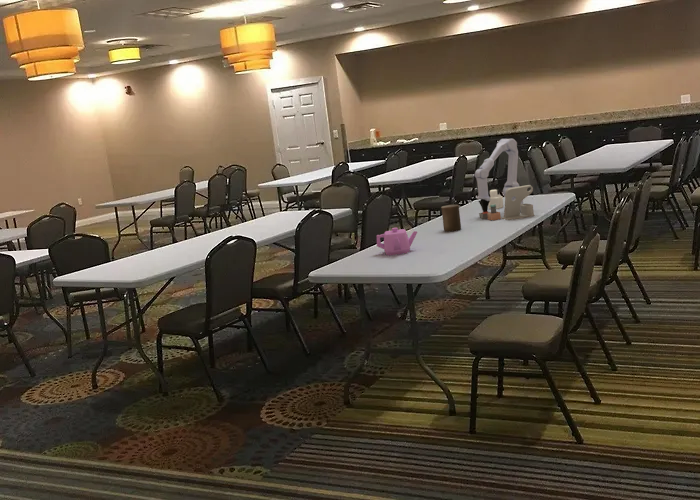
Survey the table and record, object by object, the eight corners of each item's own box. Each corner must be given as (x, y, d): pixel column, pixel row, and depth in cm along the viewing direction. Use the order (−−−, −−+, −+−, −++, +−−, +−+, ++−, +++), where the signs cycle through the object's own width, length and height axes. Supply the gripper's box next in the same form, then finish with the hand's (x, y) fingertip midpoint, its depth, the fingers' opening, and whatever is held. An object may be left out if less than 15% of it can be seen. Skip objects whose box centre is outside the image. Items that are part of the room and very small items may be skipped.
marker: (498, 218, 420) (496, 204, 419) (493, 218, 419) (492, 205, 418) (494, 217, 423) (493, 204, 422) (490, 218, 422) (489, 204, 421)
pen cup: (496, 218, 424) (496, 211, 423) (500, 219, 419) (500, 212, 418) (488, 219, 423) (487, 212, 422) (491, 220, 418) (491, 213, 417)
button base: (488, 216, 434) (487, 211, 433) (492, 217, 428) (491, 212, 428) (479, 218, 433) (479, 213, 432) (483, 219, 427) (482, 214, 427)
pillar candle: (460, 230, 399) (458, 203, 396) (443, 232, 401) (440, 205, 399) (461, 227, 408) (459, 201, 406) (444, 229, 411) (441, 203, 408)
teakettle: (396, 247, 376) (393, 224, 374) (421, 248, 364) (418, 224, 361) (373, 255, 365) (370, 231, 362) (398, 256, 352) (395, 231, 350)
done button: (487, 215, 432) (486, 211, 432) (489, 216, 429) (489, 211, 428) (481, 216, 432) (481, 211, 431) (484, 217, 428) (483, 212, 428)
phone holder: (527, 213, 425) (524, 183, 422) (535, 215, 415) (533, 184, 412) (500, 218, 421) (497, 188, 418) (508, 220, 411) (505, 189, 408)
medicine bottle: (493, 207, 468) (491, 188, 466) (503, 206, 463) (501, 188, 461) (488, 209, 462) (486, 190, 460) (499, 208, 458) (497, 190, 456)
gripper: (471, 189, 433) (474, 211, 436) (481, 191, 419) (483, 214, 422) (482, 187, 435) (485, 209, 437) (492, 189, 421) (495, 212, 423)
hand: (485, 211), depth 430 cm, fingers closed, pressing on done button
